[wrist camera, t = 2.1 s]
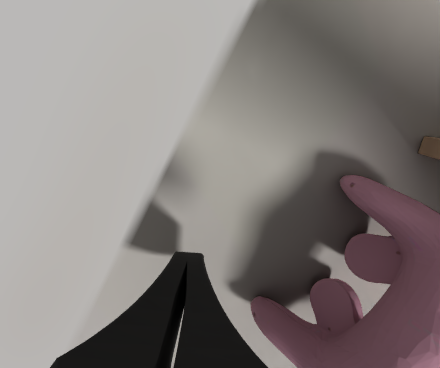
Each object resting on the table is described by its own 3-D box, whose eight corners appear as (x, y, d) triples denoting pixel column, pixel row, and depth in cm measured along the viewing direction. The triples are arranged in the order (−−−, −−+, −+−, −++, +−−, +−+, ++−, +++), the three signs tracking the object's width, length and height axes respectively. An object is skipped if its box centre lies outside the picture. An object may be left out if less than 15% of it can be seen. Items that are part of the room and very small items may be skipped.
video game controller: (287, 303, 17) (380, 433, 12) (238, 307, 14) (328, 476, 9) (383, 182, 14) (564, 281, 9) (343, 159, 11) (567, 281, 6)
